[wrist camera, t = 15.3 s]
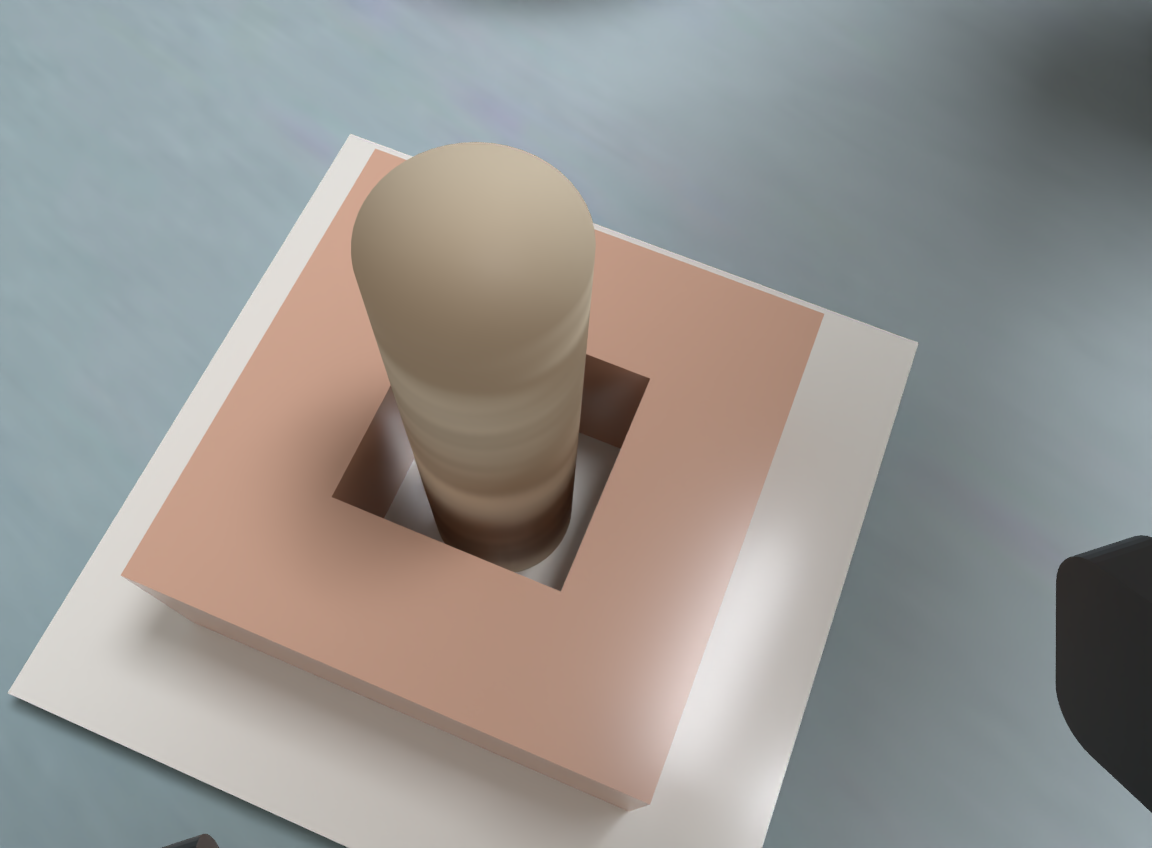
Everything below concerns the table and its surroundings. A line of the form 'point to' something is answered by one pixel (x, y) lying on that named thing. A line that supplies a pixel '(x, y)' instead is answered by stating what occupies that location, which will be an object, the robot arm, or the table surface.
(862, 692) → the table surface
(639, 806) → the socket block
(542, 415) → the peg
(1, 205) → the table surface
